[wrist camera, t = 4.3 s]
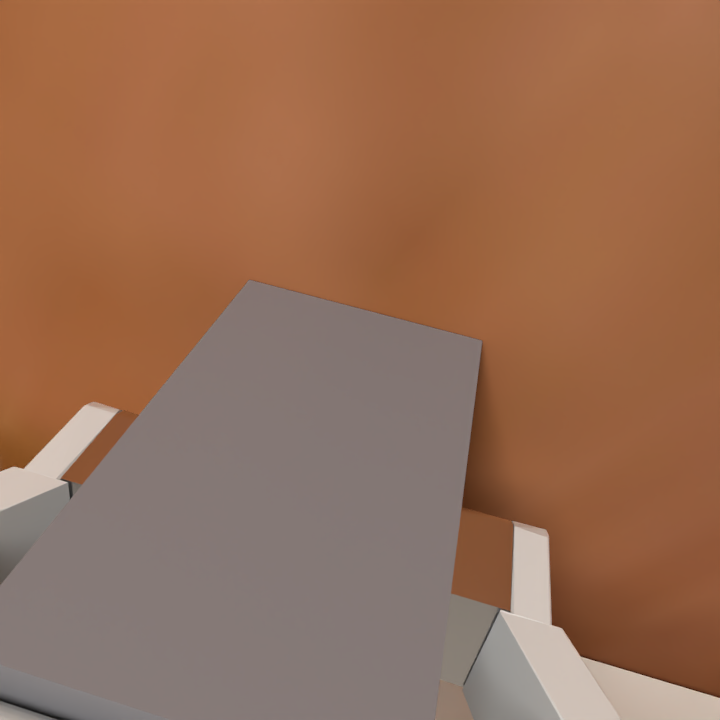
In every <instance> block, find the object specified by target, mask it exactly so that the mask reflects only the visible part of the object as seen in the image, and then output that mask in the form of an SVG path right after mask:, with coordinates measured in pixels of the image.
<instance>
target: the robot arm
mask: <svg viewBox="0 0 720 720" xmlns="http://www.w3.org/2000/svg"><path fill="white" fill-rule="evenodd" d="M138 416H139V415H138V414H134V413H131V412H128V411H125V410H124V411H122V410H119V409H116V408H113V407H110V406H106V405H103V404H100V403H97V402H92V403H89V404H87V405H85V406H83V407H82V408H81V409H80V410H79V411H78V412H77V414H76V415H75V416H74V417H73V418H72V419H71V420H70V421H69V422H68V423H67V424H66V425H65V426H64V427H63V428H62V429H61V430H60V431H59V432H58V433H57V434H56V435H55V437H54V438H53V439H52V440H51V441H50V442H49V443H48V444H47V445H46V446H45V447H44V448H43V449H42V450H41V451H40V452H39V453H38V454H37V455H36V456H35V457H34V458H33V460H32V461H31V462H30V463H29V464H28V465H27V466H26V467H25V468H24V469H22V468H18V467H11V468H9V469H6V470H3V471H1V472H0V585H1V584H2V582H3V581H4V580H5V579H6V578H7V576H8V575H9V574H10V573H11V571H12V570H13V569H14V568H15V567H16V565H17V564H18V563H19V562H20V560H21V559H22V558H23V557H24V556H25V554H26V553H27V552H28V551H29V549H30V548H31V547H32V546H33V544H34V543H35V542H36V541H37V540H38V538H39V537H40V536H41V535H42V533H43V532H44V531H45V530H46V529H47V527H48V526H49V525H50V524H51V522H52V521H53V520H54V519H55V517H56V516H57V515H58V514H59V513H60V511H61V510H62V509H63V508H64V506H65V505H66V504H67V503H68V502H69V500H70V499H71V498H72V497H73V495H74V494H75V493H76V492H77V490H78V489H79V488H80V487H81V486H82V484H83V483H84V482H85V481H86V479H87V478H88V477H89V476H90V475H91V473H92V472H93V471H94V470H95V468H96V467H97V466H98V465H99V464H100V462H101V461H102V460H103V459H104V457H105V456H106V455H107V454H108V452H109V451H110V450H111V449H112V448H113V446H114V445H115V444H116V443H117V441H118V440H119V439H120V438H121V437H122V435H123V434H124V433H125V432H126V430H127V429H128V428H129V427H130V425H131V424H132V423H133V422H134V421H135V419H136V418H137V417H138ZM440 680H443V681H446V682H449V683H452V684H455V685H458V686H461V687H463V689H462V691H463V694H464V696H465V699H466V701H467V704H468V706H469V709H470V711H471V714H472V717H473V719H474V720H621V718H620V717H619V715H618V714H617V712H616V710H615V709H614V707H613V706H612V704H611V703H610V701H609V700H608V698H607V697H606V695H605V693H604V692H603V690H602V689H601V687H600V686H599V684H598V683H597V681H596V680H595V678H594V677H593V675H592V673H591V672H590V670H589V669H588V667H587V666H586V664H585V663H584V661H583V660H582V658H581V656H580V655H579V653H578V652H577V650H576V649H575V647H574V646H573V644H572V643H571V641H570V640H569V638H568V636H567V635H566V633H565V632H564V630H563V629H562V628H559V627H556V626H553V625H552V615H551V584H550V552H549V535H548V533H547V531H546V530H545V529H541V528H538V527H534V526H530V525H527V524H523V523H519V522H516V521H512V522H511V521H510V520H508V519H504V518H500V517H497V516H493V515H489V514H486V513H482V512H478V511H475V510H471V509H467V508H464V507H462V508H461V516H460V524H459V532H458V540H457V548H456V556H455V564H454V572H453V580H452V588H451V596H450V604H449V612H448V620H447V628H446V636H445V644H444V652H443V660H442V668H441V676H440ZM0 720H58V719H55V718H52V717H49V716H46V715H42V714H39V713H36V712H33V711H30V710H27V709H24V708H21V707H18V706H15V705H12V704H9V703H6V702H3V701H0Z"/></svg>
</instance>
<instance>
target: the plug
mask: <svg viewBox="0 0 720 720" xmlns="http://www.w3.org/2000/svg"><path fill="white" fill-rule="evenodd" d="M481 348H482V340H478V339H474V338H470V337H466V336H463V335H459V334H455V333H451V332H447V331H443V330H440V329H436V328H432V327H428V326H424V325H421V324H417V323H413V322H409V321H405V320H401V319H398V318H394V317H390V316H386V315H382V314H378V313H375V312H371V311H367V310H363V309H359V308H355V307H352V306H348V305H344V304H340V303H336V302H332V301H329V300H325V299H321V298H317V297H313V296H310V295H306V294H302V293H298V292H294V291H290V290H287V289H283V288H279V287H275V286H271V285H267V284H264V283H260V282H256V281H252V280H249V281H248V282H247V283H246V284H245V286H244V287H243V288H242V289H241V291H240V292H239V293H238V294H237V295H236V297H235V298H234V299H233V300H232V302H231V303H230V304H229V305H228V306H227V308H226V309H225V310H224V311H223V313H222V314H221V315H220V316H219V318H218V319H217V320H216V321H215V322H214V324H213V325H212V326H211V327H210V329H209V330H208V331H207V332H206V333H205V335H204V336H203V337H202V338H201V340H200V341H199V342H198V343H197V345H196V346H195V347H194V348H193V349H192V351H191V352H190V353H189V354H188V356H187V357H186V358H185V359H184V360H183V362H182V363H181V364H180V365H179V367H178V368H177V369H176V370H175V372H174V373H173V374H172V375H171V376H170V378H169V379H168V380H167V381H166V383H165V384H164V385H163V386H162V387H161V389H160V390H159V391H158V392H157V394H156V395H155V396H154V397H153V398H152V400H151V401H150V402H149V403H148V405H147V406H146V407H145V408H144V410H143V411H142V412H141V413H140V414H139V416H138V417H137V418H136V419H135V421H134V422H133V423H132V424H131V425H130V427H129V428H128V429H127V430H126V432H125V433H124V434H123V435H122V437H121V438H120V439H119V440H118V441H117V443H116V444H115V445H114V446H113V448H112V449H111V450H110V451H109V452H108V454H107V455H106V456H105V457H104V459H103V460H102V461H101V462H100V464H99V465H98V466H97V467H96V468H95V470H94V471H93V472H92V473H91V475H90V476H89V477H88V478H87V479H86V481H85V482H84V483H83V484H82V486H81V487H80V488H79V489H78V490H77V492H76V493H75V494H74V495H73V497H72V498H71V499H70V500H69V502H68V503H67V504H66V505H65V506H64V508H63V509H62V510H61V511H60V513H59V514H58V515H57V516H56V517H55V519H54V520H53V521H52V522H51V524H50V525H49V526H48V527H47V529H46V530H45V531H44V532H43V533H42V535H41V536H40V537H39V538H38V540H37V541H36V542H35V543H34V544H33V546H32V547H31V548H30V549H29V551H28V552H27V553H26V554H25V556H24V557H23V558H22V559H21V560H20V562H19V563H18V564H17V565H16V567H15V568H14V569H13V570H12V571H11V573H10V574H9V575H8V576H7V578H6V579H5V580H4V581H3V582H2V584H1V585H0V701H3V702H6V703H9V704H12V705H15V706H18V707H21V708H24V709H27V710H30V711H33V712H36V713H39V714H42V715H46V716H49V717H52V718H55V719H58V720H435V717H436V708H437V700H438V692H439V684H440V676H441V668H442V660H443V652H444V644H445V636H446V628H447V620H448V612H449V604H450V596H451V588H452V580H453V572H454V564H455V556H456V548H457V540H458V532H459V524H460V516H461V508H462V500H463V492H464V484H465V476H466V468H467V460H468V452H469V444H470V436H471V428H472V420H473V412H474V404H475V396H476V388H477V380H478V372H479V364H480V356H481Z"/></svg>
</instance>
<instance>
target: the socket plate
mask: <svg viewBox="0 0 720 720" xmlns="http://www.w3.org/2000/svg"><path fill="white" fill-rule="evenodd" d="M581 658H582V660H583V661H584V663H585V664H586V666H587V667H588V669H589V670H590V672H591V673H592V675H593V677H594V678H595V680H596V681H597V683H598V684H599V686H600V687H601V689H602V690H603V692H604V693H605V695H606V697H607V698H608V700H609V701H610V703H611V704H612V706H613V707H614V709H615V710H616V712H617V714H618V715H619V717H620V718H621V720H720V698H718V697H714V696H711V695H708V694H704V693H701V692H698V691H694V690H691V689H688V688H684V687H681V686H677V685H674V684H671V683H667V682H664V681H661V680H657V679H654V678H651V677H647V676H644V675H641V674H637V673H634V672H631V671H627V670H624V669H620V668H617V667H614V666H610V665H607V664H604V663H600V662H597V661H594V660H590V659H587V658H584V657H581ZM462 689H463V687H461V686H458V685H455V684H452V683H449V682H446V681H443V680H440V684H439V692H438V700H437V708H436V717H435V720H474V719H473V717H472V714H471V711H470V709H469V706H468V704H467V701H466V699H465V696H464V694H463V691H462Z"/></svg>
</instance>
